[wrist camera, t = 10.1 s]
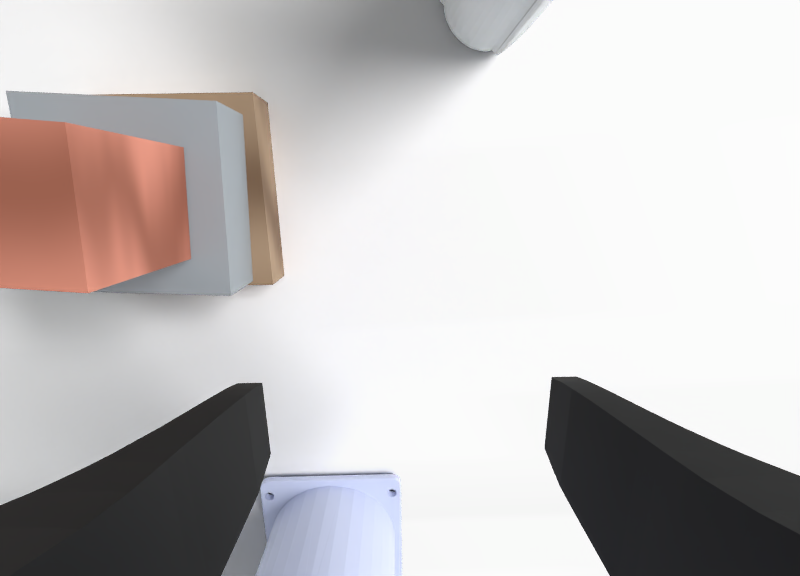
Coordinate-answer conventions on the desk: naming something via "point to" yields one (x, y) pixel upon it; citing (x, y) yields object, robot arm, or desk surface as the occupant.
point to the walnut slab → (252, 179)
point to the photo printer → (491, 21)
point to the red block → (87, 206)
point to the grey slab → (205, 179)
